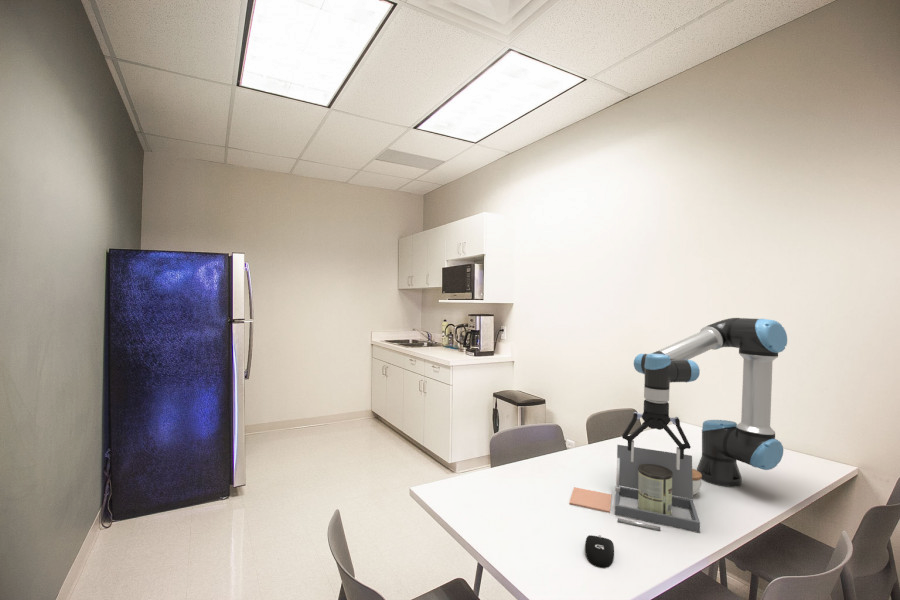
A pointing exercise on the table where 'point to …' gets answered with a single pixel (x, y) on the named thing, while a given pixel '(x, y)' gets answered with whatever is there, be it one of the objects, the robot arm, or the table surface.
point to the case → (680, 486)
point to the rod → (638, 524)
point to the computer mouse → (599, 551)
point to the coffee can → (655, 488)
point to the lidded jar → (696, 480)
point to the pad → (591, 499)
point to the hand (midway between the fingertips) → (654, 464)
